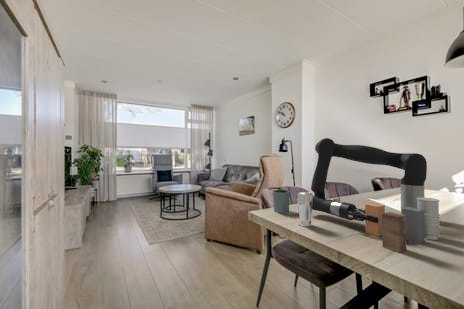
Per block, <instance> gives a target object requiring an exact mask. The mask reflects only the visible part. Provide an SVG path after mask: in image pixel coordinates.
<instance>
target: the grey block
mask: <svg viewBox="0 0 464 309" xmlns="http://www.w3.org/2000/svg"><path fill="white" fill-rule="evenodd" d="M402 214H403V215H406V242H410V243H413V244H416V245H420V244H421V243H425V238H424V210H423V209H417V208H412V207H406V208H402Z"/></svg>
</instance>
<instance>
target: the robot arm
mask: <svg viewBox="0 0 464 309" xmlns="http://www.w3.org/2000/svg"><path fill="white" fill-rule="evenodd" d="M314 148H315V152H316V153H317V156H318V157H317V163H316V166H315V170H314V172H313V175H312V180H311V187H310V190H311V191H312V193H313V192H314V195H312V197H313V208H312V211H318V212H323V213H326V214H329V215H333V216H335V217H338V218H340V219H345V220H348V221H353V220H354V221H359V222H364V221H370V222H374V223H378V222H379V218H378V217H374V216H368V215H366V214H365V209H363V208H357V206H356V204H354V203H349V202H345V201H341V200H340V201H333V200H330V199H326V191H325V190H326V184H327V178H328V172H329V168H330V164H331V160H332V159H333V158H334V157H335V158H341V159H345V160H349V161H351V162H352V161H353V162H358V163H363V164H368V165H377V166H378V165H379V166H380V165H381V166H389V167H393V168H396V169H399V170H403V171H404V176H403V177H402V178H400V214H402V208H406V207H412V208H417V199H416V198H418V197H423V198H425V182H426V179H427V172H428V170H427V169H428V164H427V163H428V162H427V159H426V157H425V156H424V155H422V154H420V153H413V152H412V153H411V152H410V153H409V152H407V153H405V152H404V153H401V152H391V151H387V150H385V149H381V148H379V147H373V146H370V145H363V144H361V145H360V144H339V143H336V142H335V141H334V140H333V139H331V138H327V137H325V138H322V139H320V140H318V141H317V142H316V144H315V147H314ZM332 157H333V158H332Z"/></svg>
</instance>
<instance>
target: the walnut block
mask: <svg viewBox="0 0 464 309" xmlns="http://www.w3.org/2000/svg"><path fill="white" fill-rule="evenodd" d="M381 236H382V237H381V238H382V244H381V245H382V248H384V249H386V250H389V251H392V252H396V253H399V254H400V253H402V252H404V251H406V250H407V241H406V215H403V214H401V213H398V212H393V211H387V212H386V211H385V213H382V235H381Z"/></svg>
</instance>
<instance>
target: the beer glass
mask: <svg viewBox="0 0 464 309" xmlns="http://www.w3.org/2000/svg"><path fill="white" fill-rule="evenodd" d="M312 196H313V192H307V191H299V192H297V200H296V202H297V210H298V218H299V219H298V225H299V226H300V227H303V226H304V228H305V227H306V228H309V227H312V226H313V222H312V221H313V220H312V214H313V212H312V211H313V210H312V208H313V197H312Z"/></svg>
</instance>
